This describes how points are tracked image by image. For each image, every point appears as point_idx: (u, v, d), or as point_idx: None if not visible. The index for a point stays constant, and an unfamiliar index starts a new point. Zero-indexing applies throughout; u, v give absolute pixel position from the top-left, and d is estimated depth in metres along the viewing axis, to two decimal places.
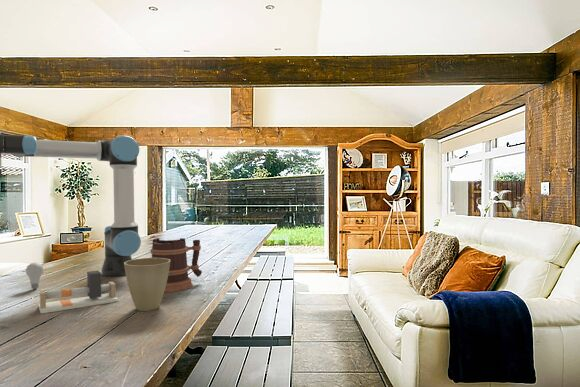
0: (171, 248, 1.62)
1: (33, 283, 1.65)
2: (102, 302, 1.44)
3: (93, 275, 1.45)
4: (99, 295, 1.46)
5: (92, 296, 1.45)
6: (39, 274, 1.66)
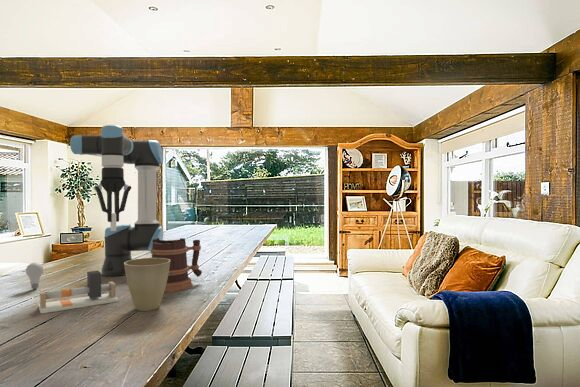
0: (171, 248, 1.62)
1: (33, 283, 1.65)
2: (102, 302, 1.44)
3: (93, 275, 1.45)
4: (99, 295, 1.46)
5: (92, 296, 1.45)
6: (39, 274, 1.66)
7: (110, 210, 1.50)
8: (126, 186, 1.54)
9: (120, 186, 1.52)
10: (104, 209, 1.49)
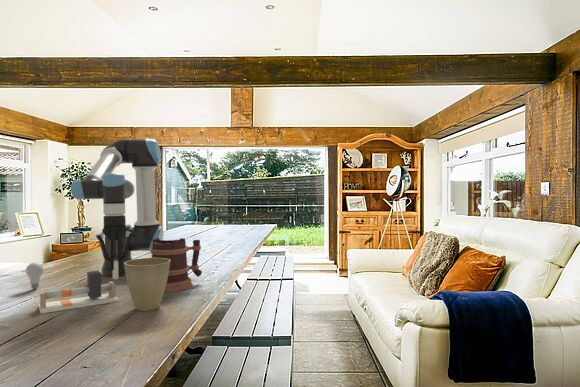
0: (171, 248, 1.62)
1: (33, 283, 1.65)
2: (102, 302, 1.44)
3: (93, 275, 1.45)
4: (99, 295, 1.46)
5: (92, 296, 1.45)
6: (39, 274, 1.66)
7: (112, 258, 1.50)
8: (128, 233, 1.54)
9: (122, 233, 1.52)
10: (106, 258, 1.48)
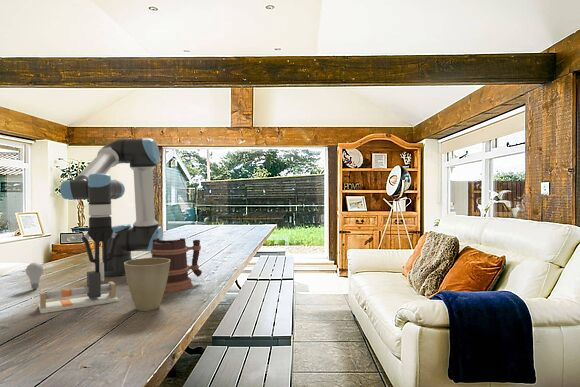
0: (171, 248, 1.62)
1: (33, 283, 1.65)
2: (102, 302, 1.44)
3: (93, 275, 1.45)
4: (99, 295, 1.46)
5: (92, 296, 1.45)
6: (39, 274, 1.66)
7: (98, 260, 1.47)
8: (114, 234, 1.51)
9: (108, 235, 1.49)
10: (91, 260, 1.46)
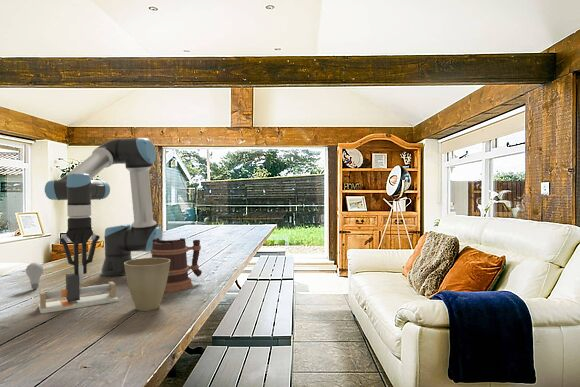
0: (171, 248, 1.62)
1: (33, 283, 1.65)
2: (102, 302, 1.44)
3: (71, 278, 1.41)
4: (77, 298, 1.42)
5: (70, 299, 1.41)
6: (39, 274, 1.66)
7: (77, 262, 1.43)
8: (94, 236, 1.47)
9: (87, 236, 1.45)
10: (70, 262, 1.42)
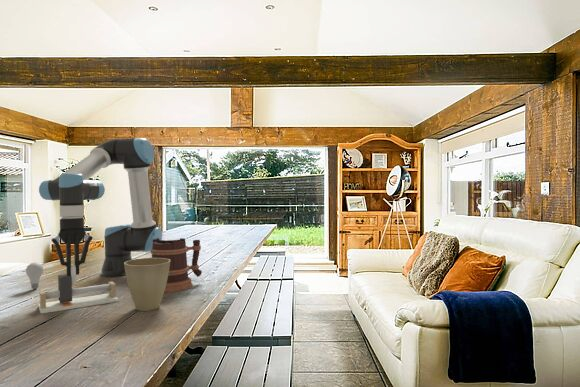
0: (171, 248, 1.62)
1: (33, 283, 1.65)
2: (102, 302, 1.44)
3: (63, 279, 1.39)
4: (70, 299, 1.41)
5: (62, 300, 1.39)
6: (39, 274, 1.66)
7: (69, 263, 1.42)
8: (87, 236, 1.46)
9: (80, 237, 1.44)
10: (62, 263, 1.40)
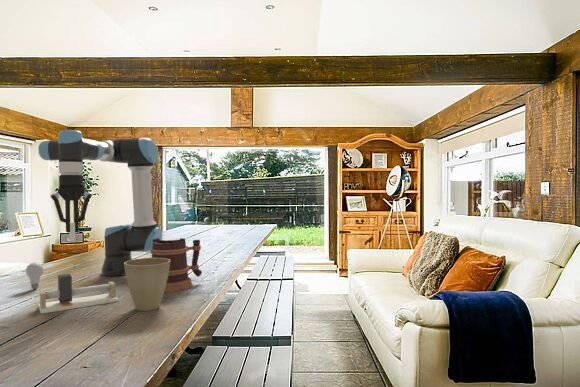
0: (171, 248, 1.62)
1: (33, 283, 1.65)
2: (102, 302, 1.44)
3: (63, 279, 1.39)
4: (70, 299, 1.41)
5: (62, 300, 1.39)
6: (39, 274, 1.66)
7: (68, 220, 1.42)
8: (86, 194, 1.45)
9: (79, 194, 1.44)
10: (61, 219, 1.40)
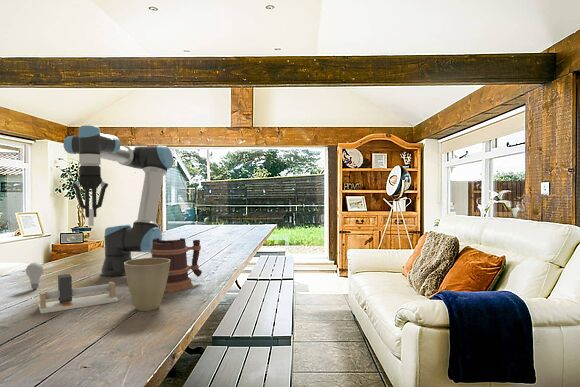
0: (171, 248, 1.62)
1: (33, 283, 1.65)
2: (102, 302, 1.44)
3: (63, 279, 1.39)
4: (70, 299, 1.41)
5: (62, 300, 1.39)
6: (39, 274, 1.66)
7: (87, 206, 1.58)
8: (103, 183, 1.61)
9: (97, 183, 1.60)
10: (82, 205, 1.56)
